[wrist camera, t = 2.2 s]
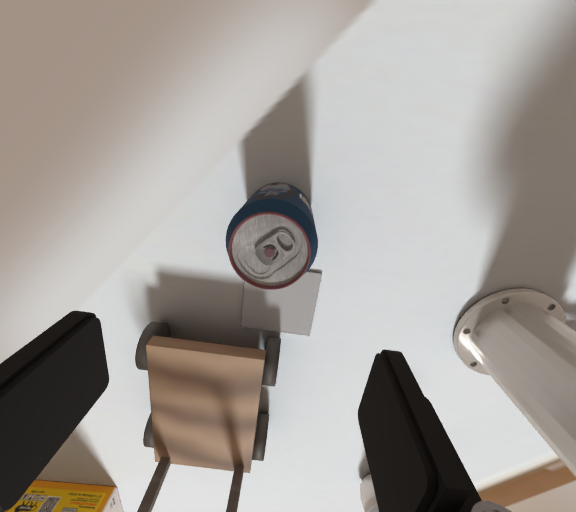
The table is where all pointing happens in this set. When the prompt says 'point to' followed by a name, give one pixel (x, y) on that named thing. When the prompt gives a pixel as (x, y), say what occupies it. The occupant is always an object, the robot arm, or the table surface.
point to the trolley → (204, 405)
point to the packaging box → (68, 498)
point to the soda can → (273, 237)
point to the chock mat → (282, 306)
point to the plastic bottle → (368, 495)
